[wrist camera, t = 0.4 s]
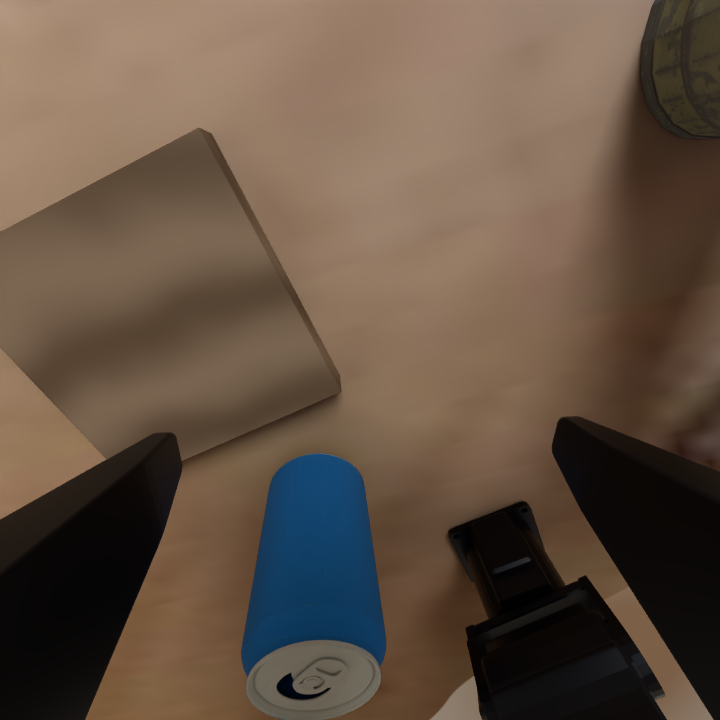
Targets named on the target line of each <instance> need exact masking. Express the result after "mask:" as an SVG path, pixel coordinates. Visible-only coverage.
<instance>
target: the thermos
mask: <svg viewBox="0 0 720 720" xmlns="http://www.w3.org/2000/svg"><path fill="white" fill-rule="evenodd" d="M640 78H641V82H642V87H643V91H644V95H645V99H646V103H647V106H648V108H649V109H650V111H651V112H652V113H653V115H654V116H655V118H656V119H657V121H658V122H659V123H660V125H661V126H662V127H663V128H665V129H667V130H669V131H670V132H672V133H674V134H676V135H678V136H679V137H681V138H691V139H704V140H706V139H715V138H719V137H720V0H655V2H654V4H653V6H652V9H651V13H650V16H649V20H648V23H647V27H646V30H645V34H644V37H643V41H642V51H641V74H640Z"/></svg>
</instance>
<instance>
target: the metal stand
mask: <svg viewBox="0 0 720 720" xmlns="http://www.w3.org/2000/svg"><path fill="white" fill-rule="evenodd" d="M0 348H1V349H2V350H3V351H4V352H5V353H6V354H7V355H8V356H9V357H10V358H11V359H12V360H13V361H14V362H15V364H16V365H17V366H18V367H19V368H20V369H21V370H22V371H23V372H24V373H25V374H26V375H27V376H28V377H29V378H30V379H31V380H32V381H33V382H34V384H35V385H36V386H37V387H38V388H39V389H40V390H41V391H42V392H43V393H44V394H45V395H46V396H47V397H48V398H49V399H50V400H51V401H52V402H53V403H54V405H55V406H56V407H57V408H58V409H59V410H60V411H61V412H62V413H63V414H64V415H65V416H66V417H67V418H68V419H69V420H70V421H71V422H72V423H73V424H74V426H75V427H76V428H77V429H78V430H79V431H80V432H81V433H82V434H83V435H84V436H85V437H86V438H87V439H88V440H89V441H90V442H91V443H92V444H93V445H94V447H95V448H96V449H97V450H98V451H99V452H100V453H101V454H102V455H103V456H104V457H105V458H106V459H109V458H110V457H112V456H114V455H116V454H117V453H119V452H121V451H123V450H125V449H126V448H128V447H130V446H132V445H133V444H135V443H137V442H139V441H141V440H142V439H144V438H146V437H148V436H149V435H151V434H153V433H158V432H172V433H174V434H175V436H176V438H177V442H178V446H179V451H180V455H181V460H182V461H183V460H185V459H187V458H190V457H192V456H194V455H197V454H199V453H201V452H204V451H206V450H208V449H211V448H213V447H215V446H217V445H220V444H222V443H224V442H227V441H229V440H231V439H234V438H236V437H238V436H240V435H243V434H245V433H247V432H250V431H252V430H254V429H257V428H259V427H261V426H263V425H266V424H268V423H270V422H273V421H275V420H277V419H280V418H282V417H284V416H286V415H289V414H291V413H293V412H296V411H298V410H300V409H303V408H305V407H307V406H309V405H312V404H314V403H316V402H319V401H321V400H323V399H326V398H328V397H330V396H333V395H335V394H337V393H339V392H341V383H340V375H339V373H338V371H337V369H336V367H335V366H334V364H333V362H332V360H331V358H330V356H329V354H328V352H327V351H326V349H325V347H324V345H323V343H322V341H321V339H320V337H319V335H318V334H317V332H316V330H315V328H314V326H313V324H312V322H311V320H310V318H309V317H308V315H307V313H306V311H305V309H304V307H303V305H302V303H301V301H300V300H299V298H298V296H297V294H296V292H295V290H294V288H293V286H292V285H291V283H290V281H289V279H288V277H287V275H286V273H285V271H284V269H283V268H282V266H281V264H280V262H279V260H278V258H277V256H276V254H275V252H274V251H273V249H272V247H271V245H270V243H269V241H268V239H267V237H266V235H265V234H264V232H263V230H262V228H261V226H260V224H259V222H258V220H257V218H256V217H255V215H254V213H253V211H252V209H251V207H250V205H249V203H248V202H247V200H246V198H245V196H244V194H243V192H242V190H241V188H240V186H239V185H238V183H237V181H236V179H235V177H234V175H233V173H232V171H231V169H230V168H229V166H228V164H227V162H226V160H225V158H224V156H223V154H222V152H221V151H220V149H219V147H218V145H217V143H216V141H215V139H214V137H213V136H212V134H211V133H209V132H207V131H205V130H203V129H201V128H197V129H195V130H193V131H192V132H190V133H188V134H186V135H184V136H182V137H180V138H178V139H176V140H174V141H173V142H171V143H169V144H167V145H165V146H163V147H161V148H159V149H157V150H155V151H153V152H152V153H150V154H148V155H146V156H144V157H142V158H140V159H138V160H136V161H134V162H133V163H131V164H129V165H127V166H125V167H123V168H121V169H119V170H117V171H115V172H113V173H112V174H110V175H108V176H106V177H104V178H102V179H100V180H98V181H96V182H94V183H93V184H91V185H89V186H87V187H85V188H83V189H81V190H79V191H77V192H75V193H74V194H72V195H70V196H68V197H66V198H64V199H62V200H60V201H58V202H56V203H54V204H53V205H51V206H49V207H47V208H45V209H43V210H41V211H39V212H37V213H35V214H34V215H32V216H30V217H28V218H26V219H24V220H22V221H20V222H18V223H16V224H14V225H13V226H11V227H9V228H7V229H5V230H3V231H1V232H0Z"/></svg>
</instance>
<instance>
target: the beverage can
mask: <svg viewBox="0 0 720 720" xmlns="http://www.w3.org/2000/svg"><path fill="white" fill-rule="evenodd" d="M385 651H386V635H385V628H384V621H383V614H382V607H381V600H380V593H379V586H378V579H377V572H376V564H375V557H374V550H373V543H372V536H371V529H370V522H369V515H368V508H367V501H366V494H365V486H364V481H363V478H362V476H361V474H360V473H359V471H358V470H357V469H356V468H355V467H354V466H353V465H352V464H351V463H349V462H348V461H346V460H344V459H343V458H340V457H337V456H334V455H330V454H319V453H317V454H308V455H303V456H300V457H297V458H294V459H292V460H290V461H289V462H287V463H286V464H284V465H283V466H282V467H281V468H280V469H279V470H278V471H277V472H276V473H275V475H274V476H273V478H272V480H271V483H270V487H269V493H268V498H267V504H266V510H265V516H264V522H263V527H262V533H261V539H260V545H259V551H258V556H257V562H256V568H255V574H254V580H253V585H252V591H251V597H250V603H249V609H248V614H247V620H246V626H245V632H244V638H243V643H242V649H241V658H242V663H243V668H244V670H245V672H246V675H247V677H248V679H247V683H246V692H247V696H248V698H249V700H250V702H251V703H252V704H253V705H254V706H255V707H256V708H257V709H258V710H260V711H261V712H263V713H265V714H267V715H270V716H272V717H275V718H279V719H283V720H325V719H330V718H334V717H338V716H341V715H344V714H346V713H349V712H351V711H353V710H355V709H357V708H359V707H360V706H362V705H363V704H365V703H366V702H367V701H368V700H370V699H371V698H372V696H373V695H374V694H375V693H376V691H377V690H378V688H379V685H380V681H381V673H380V666H381V664H382V662H383V659H384V655H385Z"/></svg>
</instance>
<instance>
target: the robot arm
mask: <svg viewBox="0 0 720 720" xmlns="http://www.w3.org/2000/svg"><path fill="white" fill-rule="evenodd" d="M552 453H553V456H554V458H555V460H556V462H557V464H558V466H559V468H560V470H561V472H562V474H563V476H564V478H565V480H566V482H567V484H568V486H569V488H570V490H571V492H572V494H573V496H574V498H575V500H576V502H577V503H578V505H579V507H580V509H581V511H582V512H583V514H584V516H585V517H586V519H587V521H588V522H589V524H590V526H591V527H592V529H593V530H594V532H595V533H596V535H597V537H598V538H599V540H600V541H601V543H602V544H603V546H604V548H605V549H606V551H607V552H608V554H609V555H610V557H611V559H612V560H613V562H614V563H615V565H616V567H617V568H618V570H619V571H620V573H621V574H622V576H623V578H624V579H625V581H626V582H627V584H628V585H629V587H630V589H631V590H632V592H633V593H634V595H635V596H636V598H637V600H638V601H639V603H640V604H641V606H642V608H643V609H644V611H645V612H646V614H647V615H648V617H649V619H650V620H651V622H652V623H653V625H654V626H655V628H656V629H657V631H658V633H659V634H660V636H661V637H662V639H663V641H664V642H665V644H666V645H667V647H668V649H669V650H670V652H671V653H672V655H673V656H674V658H675V660H676V661H677V663H678V664H679V666H680V667H681V669H682V671H683V672H684V674H685V675H686V677H687V678H688V680H689V682H690V683H691V685H692V686H693V688H694V690H695V691H696V693H697V694H698V696H699V697H700V699H701V701H702V702H703V703H704V705H705V707H706V708H707V710H708V712H709V713H710V715H711V716H712V718H713V719H714V720H720V472H719V471H717V470H714V469H712V468H709V467H707V466H704V465H702V464H699V463H696V462H694V461H691V460H689V459H686V458H684V457H681V456H679V455H676V454H673V453H671V452H668V451H666V450H663V449H661V448H658V447H656V446H653V445H650V444H648V443H645V442H643V441H640V440H638V439H635V438H633V437H630V436H627V435H625V434H622V433H620V432H617V431H615V430H612V429H610V428H607V427H604V426H602V425H599V424H597V423H594V422H592V421H589V420H587V419H584V418H581V417H578V416H571V417H562V418H560V419H559V421H558V423H557V427H556V431H555V435H554V439H553V443H552ZM181 472H182V460H181V455H180V451H179V446H178V442H177V438H176V436H175V434H174V433H172V432H158V433H153V434H151V435H149V436H148V437H146V438H144V439H142V440H141V441H139V442H137V443H135V444H133V445H132V446H130V447H128V448H126V449H125V450H123V451H121V452H119V453H117V454H116V455H114V456H112V457H110V458H109V459H107V460H105V461H103V462H101V463H100V464H98V465H96V466H94V467H93V468H91V469H89V470H87V471H86V472H84V473H82V474H80V475H78V476H77V477H75V478H73V479H71V480H70V481H68V482H66V483H64V484H62V485H61V486H59V487H57V488H55V489H54V490H52V491H50V492H48V493H47V494H45V495H43V496H41V497H39V498H38V499H36V500H34V501H32V502H31V503H29V504H27V505H25V506H23V507H22V508H20V509H18V510H16V511H15V512H13V513H11V514H9V515H7V516H6V517H4V518H2V519H0V720H85V719H86V716H87V714H88V711H89V709H90V707H91V704H92V702H93V700H94V697H95V695H96V693H97V690H98V688H99V685H100V683H101V681H102V678H103V676H104V674H105V671H106V669H107V666H108V664H109V662H110V659H111V657H112V655H113V652H114V650H115V648H116V645H117V643H118V640H119V638H120V636H121V633H122V631H123V629H124V626H125V624H126V621H127V619H128V617H129V614H130V612H131V610H132V607H133V605H134V603H135V600H136V598H137V595H138V593H139V591H140V588H141V586H142V584H143V581H144V579H145V576H146V574H147V572H148V569H149V567H150V565H151V562H152V560H153V557H154V555H155V553H156V550H157V548H158V546H159V543H160V541H161V538H162V535H163V533H164V529H165V526H166V523H167V520H168V516H169V513H170V510H171V506H172V503H173V499H174V496H175V493H176V489H177V486H178V483H179V479H180V476H181ZM449 537H450V539H451V541H452V543H453V546H454V548H455V550H456V552H457V554H458V556H459V558H460V560H461V562H462V564H463V566H464V568H465V570H466V572H467V574H468V576H469V578H470V580H471V581H472V582H475V585H476V587H477V590H478V593H479V595H480V598H481V600H482V603H483V606H484V608H485V611H486V613H487V616H488V620H486V621H484V622H481V623H479V624H477V625H470V626H468V627H466V633H467V637H468V641H467V646H468V650H469V654H470V659H471V663H472V668H473V672H474V677H475V681H476V685H477V692H478V702H479V712H480V715H481V717H482V720H667V719H666V717H665V716H664V714H663V713H662V711H661V710H660V708H659V706H658V705H657V703H656V702H655V700H657V699H659V698H661V697H664V696H665V693H664V691H663V689H662V687H661V686H660V684H659V682H658V680H657V678H656V677H655V675H654V673H653V672H652V670H651V668H650V667H649V665H648V664H647V662H646V660H645V659H644V657H643V656H642V654H641V653H640V651H639V650H638V648H637V646H636V645H635V644H634V642H633V641H632V639H631V638H630V636H629V635H628V633H627V632H626V630H625V629H624V627H623V626H622V625H621V623H620V622H619V620H618V619H617V618H616V616H615V615H614V614H613V612H612V611H611V609H610V608H609V607H608V605H607V604H606V603H605V601H604V600H603V598H602V597H601V596H600V594H599V593H598V592H597V590H596V589H595V587H594V586H593V585H592V583H591V582H590V581H589V579H588V578H587V576H586V575H585V576H583V577H580V578H578V581H576V582H573V583H571V584H569V585H565V583H564V582H563V580H562V578H561V577H560V575H559V573H558V572H557V570H556V568H555V567H554V565H553V564H552V562H551V560H550V559H549V557H548V555H547V554H546V552H545V550H544V546H543V543H542V540H541V537H540V534H539V531H538V528H537V525H536V522H535V519H534V516H533V513H532V510H531V508H530V506H529V505H528V503H527V502H520V503H517V504H514V505H512V506H509V507H507V508H504V509H501V510H499V511H496V512H494V513H491V514H489V515H486V516H483V517H481V518H478V519H476V520H473V521H470V522H468V523H465V524H463V525H460V526H457V527H455V528H452V529H451V530H450V531H449ZM654 699H655V700H654Z"/></svg>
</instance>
